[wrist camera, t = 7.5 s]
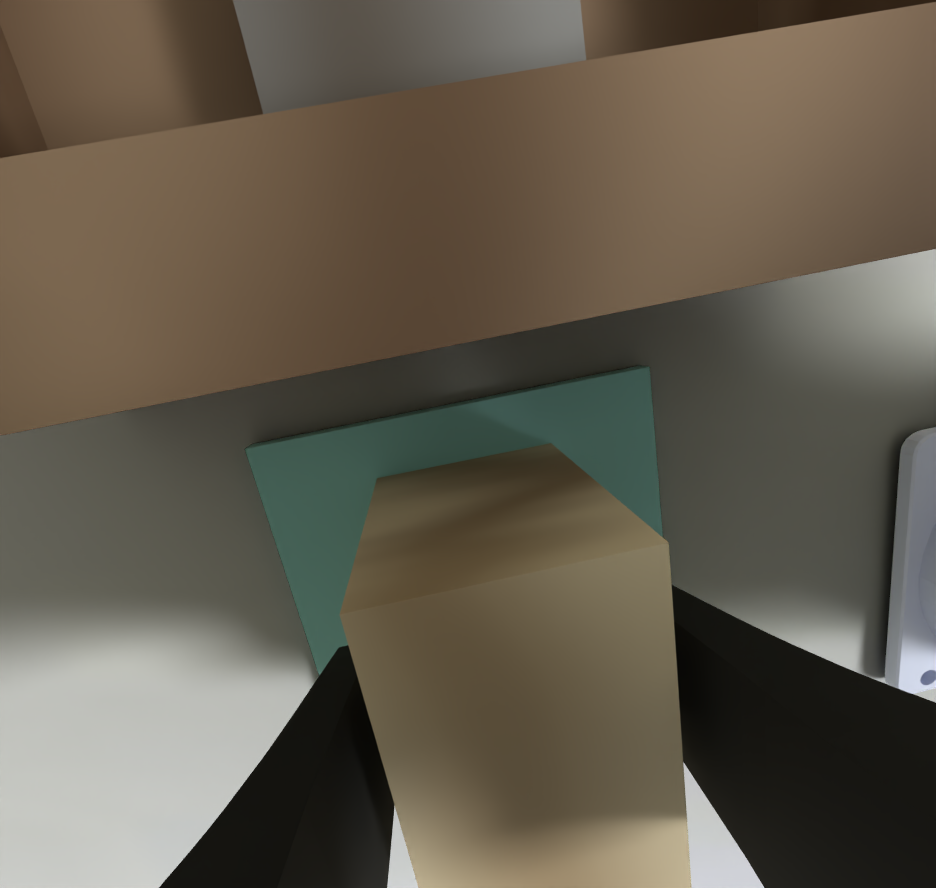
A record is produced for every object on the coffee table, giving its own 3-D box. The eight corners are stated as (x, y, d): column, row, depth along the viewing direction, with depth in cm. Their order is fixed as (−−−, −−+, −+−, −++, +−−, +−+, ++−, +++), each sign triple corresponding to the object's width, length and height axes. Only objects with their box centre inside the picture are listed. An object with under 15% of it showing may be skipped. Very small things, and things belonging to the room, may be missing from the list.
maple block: (551, 443, 10) (668, 542, 5) (580, 660, 12) (691, 888, 7) (377, 477, 10) (339, 615, 5) (429, 695, 12) (438, 955, 7)
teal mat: (641, 365, 10) (649, 366, 10) (667, 680, 13) (675, 691, 12) (251, 444, 10) (245, 449, 10) (352, 758, 12) (350, 771, 12)
